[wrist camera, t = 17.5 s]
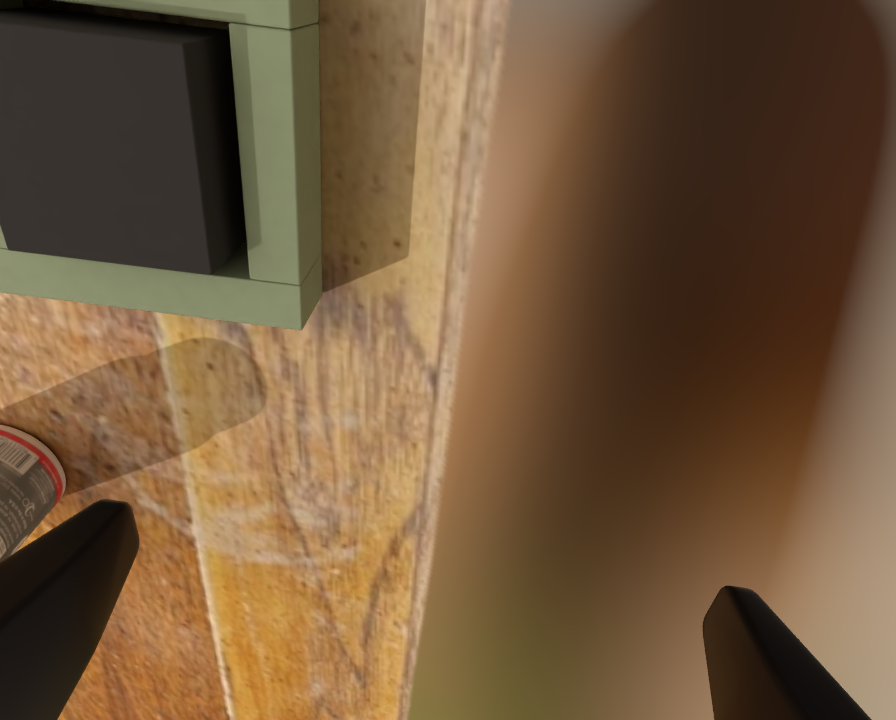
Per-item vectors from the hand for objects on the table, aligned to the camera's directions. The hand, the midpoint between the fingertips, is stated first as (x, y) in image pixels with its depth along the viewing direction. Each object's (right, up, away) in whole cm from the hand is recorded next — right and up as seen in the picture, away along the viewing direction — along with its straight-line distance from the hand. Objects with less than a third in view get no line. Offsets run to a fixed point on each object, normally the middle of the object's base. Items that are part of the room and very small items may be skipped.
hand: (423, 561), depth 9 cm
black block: (-8, +10, +9) cm, 15 cm away
